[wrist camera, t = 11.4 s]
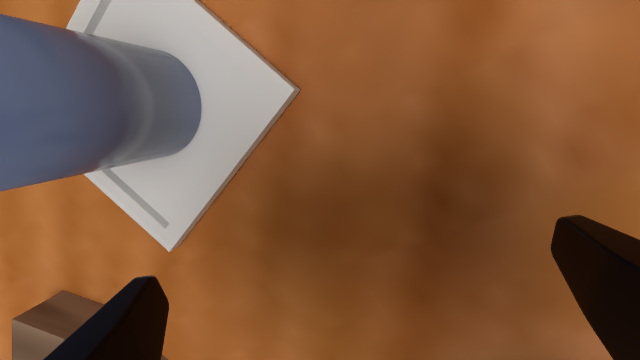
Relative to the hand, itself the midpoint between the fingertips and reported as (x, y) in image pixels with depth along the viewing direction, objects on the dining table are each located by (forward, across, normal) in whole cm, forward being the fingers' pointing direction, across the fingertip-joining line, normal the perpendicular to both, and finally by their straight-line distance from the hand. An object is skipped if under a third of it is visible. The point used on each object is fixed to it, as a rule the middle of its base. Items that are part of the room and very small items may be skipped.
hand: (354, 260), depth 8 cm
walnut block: (+14, +20, +15) cm, 29 cm away
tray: (+17, +10, +1) cm, 20 cm away
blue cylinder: (+16, +10, +1) cm, 19 cm away
